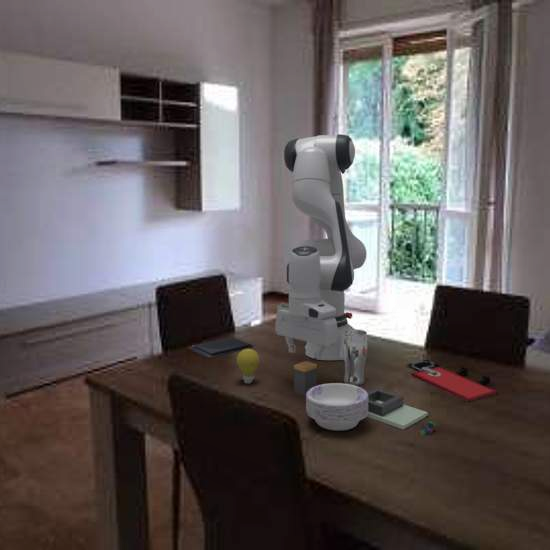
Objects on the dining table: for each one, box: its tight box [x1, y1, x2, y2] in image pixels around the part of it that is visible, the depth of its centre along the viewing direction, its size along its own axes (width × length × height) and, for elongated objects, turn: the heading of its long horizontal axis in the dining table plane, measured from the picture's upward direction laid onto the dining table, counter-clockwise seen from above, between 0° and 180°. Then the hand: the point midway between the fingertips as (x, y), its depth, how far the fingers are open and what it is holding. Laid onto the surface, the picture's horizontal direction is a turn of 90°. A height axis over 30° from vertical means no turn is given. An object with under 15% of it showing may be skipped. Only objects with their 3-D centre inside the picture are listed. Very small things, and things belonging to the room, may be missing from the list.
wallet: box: [186, 336, 255, 359], centre depth 208 cm, size 20×2×15 cm
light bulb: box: [236, 348, 260, 384], centre depth 174 cm, size 7×7×10 cm
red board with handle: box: [406, 359, 499, 402], centre depth 177 cm, size 30×3×15 cm
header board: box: [366, 387, 428, 431], centre depth 155 cm, size 11×22×4 cm, turn 45°
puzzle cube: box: [417, 421, 437, 436], centre depth 143 cm, size 4×3×2 cm, turn 141°
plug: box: [293, 360, 318, 397], centre depth 167 cm, size 5×4×8 cm
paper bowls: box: [305, 382, 369, 432], centre depth 147 cm, size 15×15×8 cm
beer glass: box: [343, 328, 368, 386], centre depth 174 cm, size 7×7×15 cm
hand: (305, 355), depth 165 cm, fingers open, 8 cm apart
